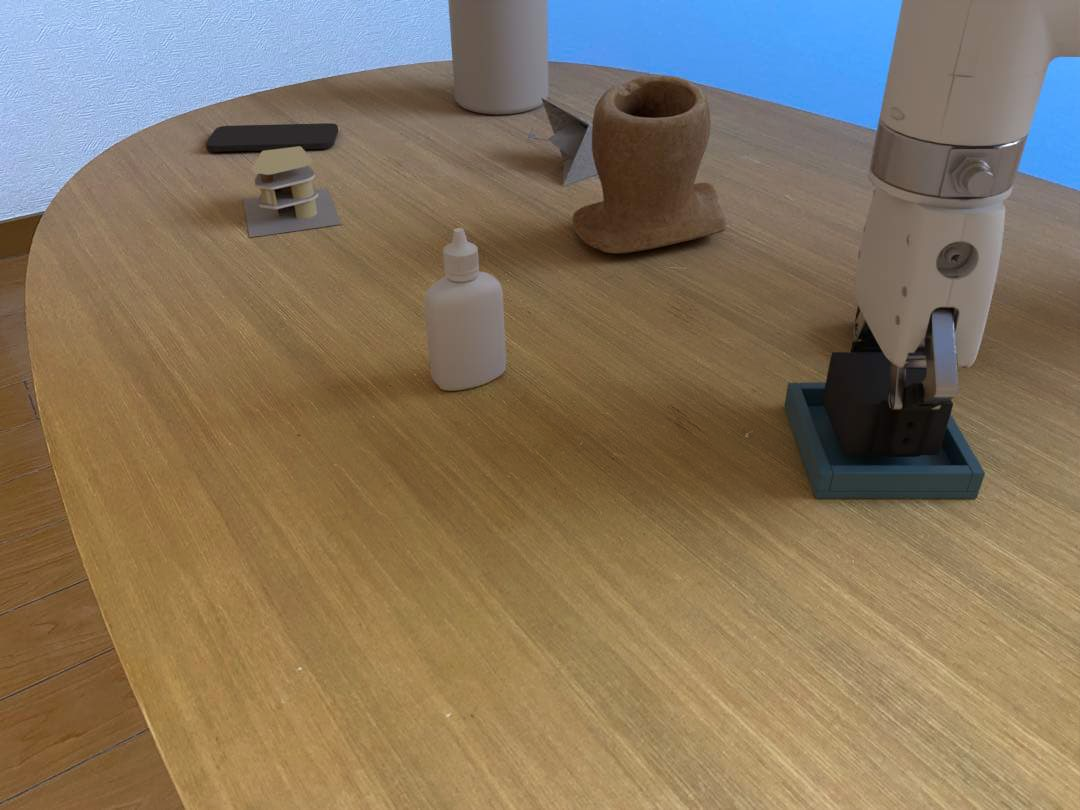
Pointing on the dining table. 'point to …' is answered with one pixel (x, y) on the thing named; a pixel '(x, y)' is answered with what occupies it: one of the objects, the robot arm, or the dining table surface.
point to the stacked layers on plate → (287, 195)
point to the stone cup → (650, 167)
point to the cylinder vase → (499, 54)
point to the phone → (272, 137)
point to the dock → (876, 459)
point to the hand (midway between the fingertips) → (880, 419)
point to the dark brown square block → (869, 400)
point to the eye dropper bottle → (465, 321)
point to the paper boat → (571, 142)
